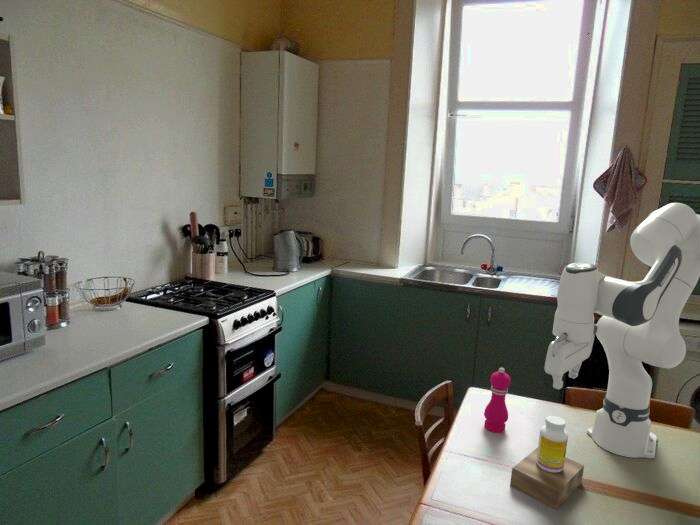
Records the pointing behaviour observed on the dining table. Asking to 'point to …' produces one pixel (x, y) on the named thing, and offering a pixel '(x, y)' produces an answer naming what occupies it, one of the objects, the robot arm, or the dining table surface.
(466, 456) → the dining table surface
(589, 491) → the dining table surface
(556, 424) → the supplement bottle
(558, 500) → the walnut stand
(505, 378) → the pepper mill
